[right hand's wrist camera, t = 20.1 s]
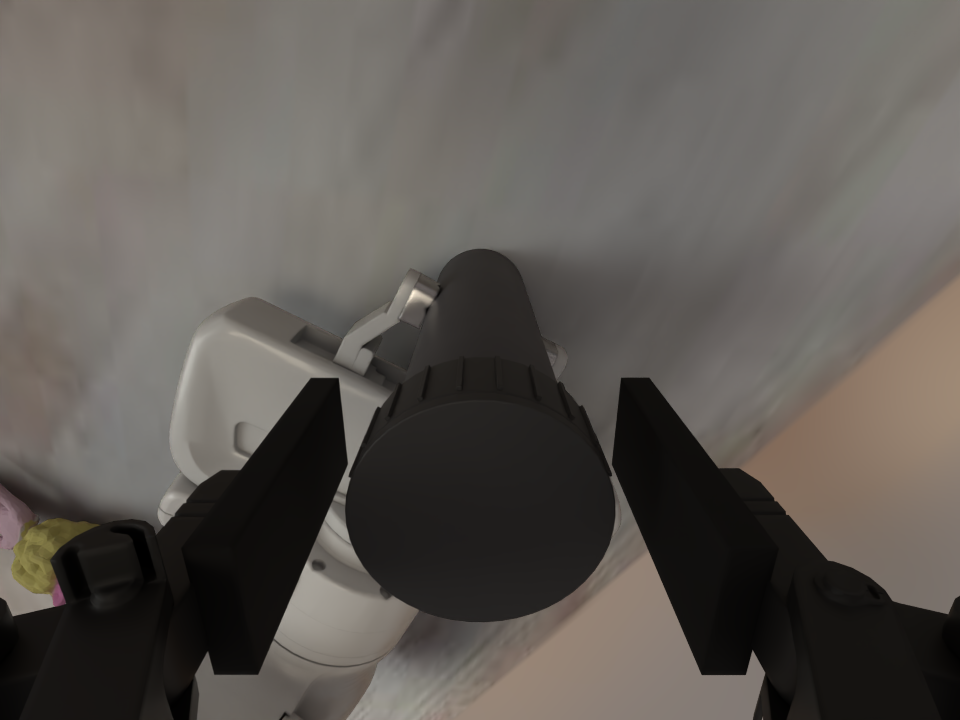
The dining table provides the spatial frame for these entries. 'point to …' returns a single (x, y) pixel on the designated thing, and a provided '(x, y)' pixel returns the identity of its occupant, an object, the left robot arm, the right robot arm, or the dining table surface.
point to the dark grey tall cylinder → (480, 316)
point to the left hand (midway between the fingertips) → (489, 311)
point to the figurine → (34, 544)
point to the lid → (480, 492)
